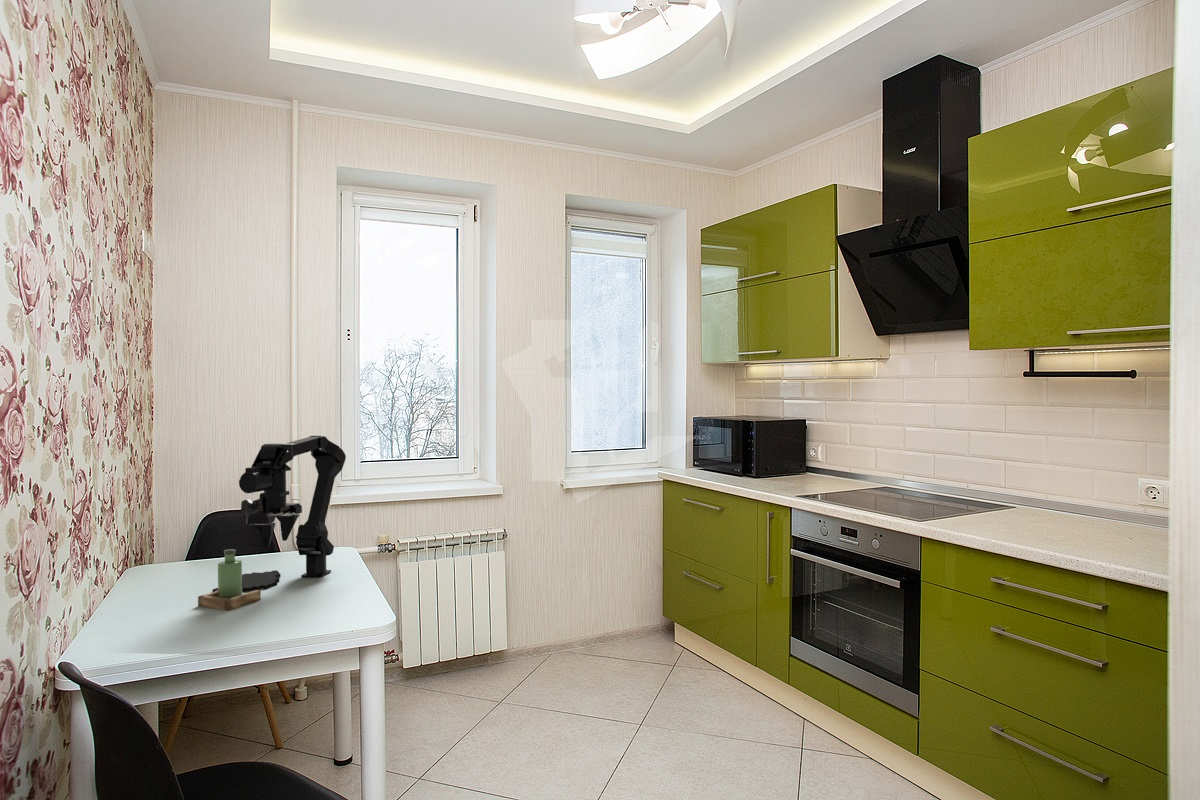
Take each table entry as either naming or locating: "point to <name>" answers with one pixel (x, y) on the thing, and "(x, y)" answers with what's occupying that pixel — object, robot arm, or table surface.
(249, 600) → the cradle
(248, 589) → the decorative item
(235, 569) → the bottle
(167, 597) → the table surface
